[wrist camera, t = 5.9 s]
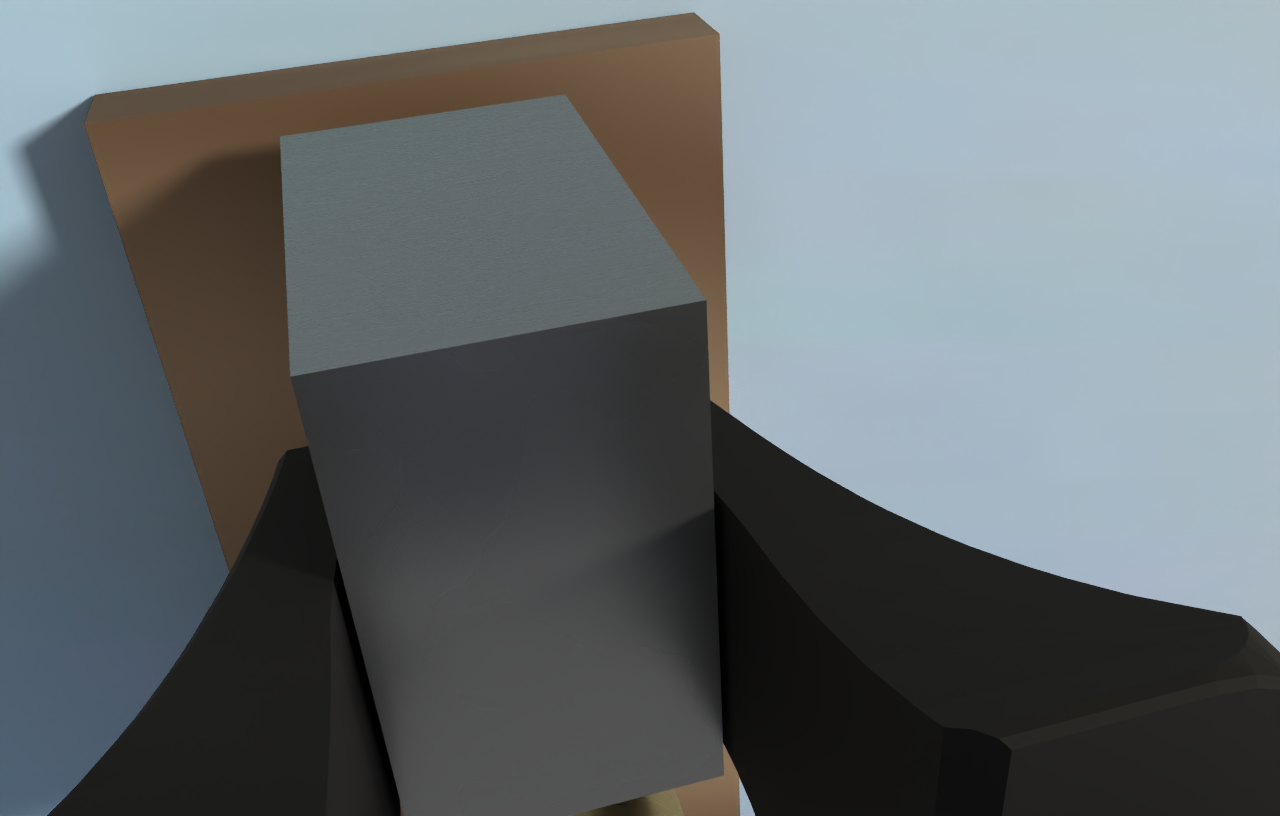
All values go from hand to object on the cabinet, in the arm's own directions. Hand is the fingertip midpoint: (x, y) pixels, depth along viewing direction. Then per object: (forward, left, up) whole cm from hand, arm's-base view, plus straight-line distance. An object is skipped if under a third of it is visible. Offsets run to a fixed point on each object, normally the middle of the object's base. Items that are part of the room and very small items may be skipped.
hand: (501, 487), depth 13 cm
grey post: (0, 0, -2) cm, 2 cm away
